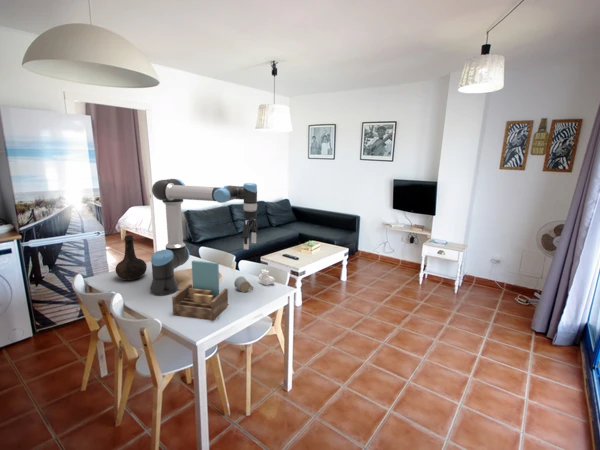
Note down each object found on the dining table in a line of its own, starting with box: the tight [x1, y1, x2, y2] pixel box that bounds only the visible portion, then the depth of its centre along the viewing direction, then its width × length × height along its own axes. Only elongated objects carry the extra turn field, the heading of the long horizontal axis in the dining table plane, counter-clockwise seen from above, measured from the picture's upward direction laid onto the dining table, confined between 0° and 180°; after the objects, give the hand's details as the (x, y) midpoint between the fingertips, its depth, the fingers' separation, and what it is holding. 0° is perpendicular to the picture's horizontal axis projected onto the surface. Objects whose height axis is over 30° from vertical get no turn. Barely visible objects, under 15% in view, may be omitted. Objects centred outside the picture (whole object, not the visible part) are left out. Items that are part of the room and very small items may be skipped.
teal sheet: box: [191, 260, 220, 298], centre depth 164 cm, size 14×2×24 cm, turn 79°
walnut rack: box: [171, 284, 230, 322], centre depth 161 cm, size 22×18×11 cm
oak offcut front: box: [193, 293, 213, 305], centre depth 159 cm, size 10×2×9 cm, turn 79°
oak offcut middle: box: [189, 287, 212, 299], centre depth 162 cm, size 12×2×10 cm, turn 79°
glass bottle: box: [115, 234, 148, 281], centre depth 200 cm, size 18×18×28 cm
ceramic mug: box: [233, 276, 254, 293], centre depth 190 cm, size 11×8×8 cm
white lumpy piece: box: [257, 268, 276, 286], centre depth 199 cm, size 12×8×11 cm
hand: (250, 246), depth 184 cm, fingers open, 13 cm apart
